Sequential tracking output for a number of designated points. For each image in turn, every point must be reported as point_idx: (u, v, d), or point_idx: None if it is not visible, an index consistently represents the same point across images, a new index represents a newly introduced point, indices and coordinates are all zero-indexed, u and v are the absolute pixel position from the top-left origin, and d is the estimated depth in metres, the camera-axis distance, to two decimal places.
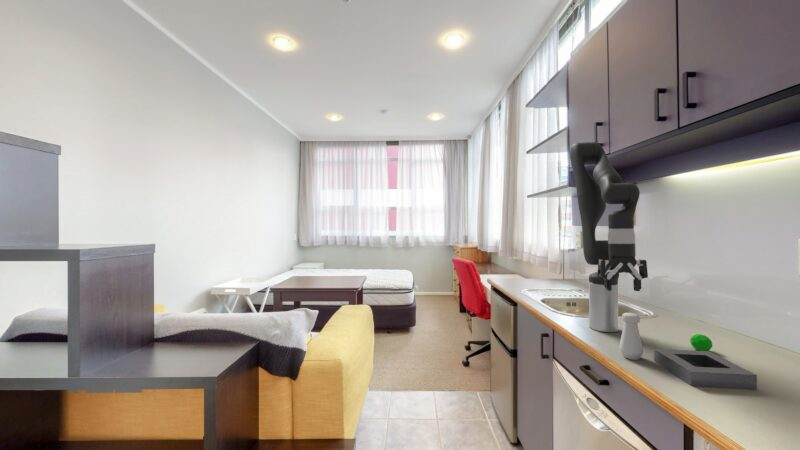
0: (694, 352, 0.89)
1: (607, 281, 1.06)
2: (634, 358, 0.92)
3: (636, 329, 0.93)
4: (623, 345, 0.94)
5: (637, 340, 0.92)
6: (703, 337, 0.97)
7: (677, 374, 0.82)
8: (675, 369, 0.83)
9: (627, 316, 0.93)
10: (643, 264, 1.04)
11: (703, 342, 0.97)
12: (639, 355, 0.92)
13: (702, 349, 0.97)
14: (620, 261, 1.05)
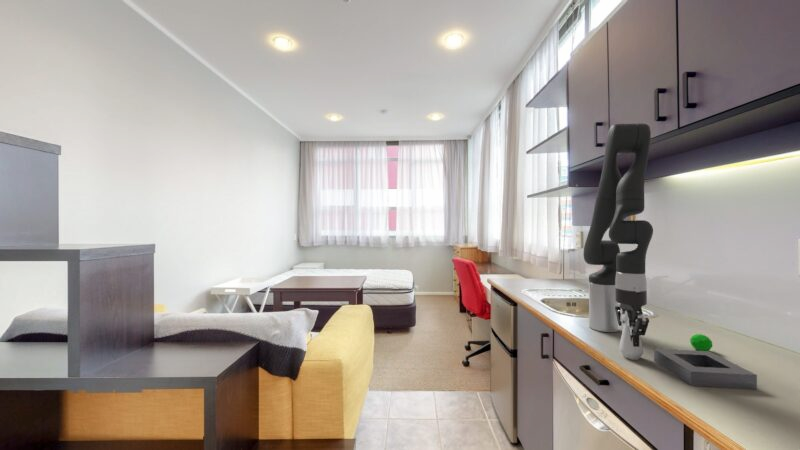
0: (694, 352, 0.89)
1: None
2: (634, 358, 0.92)
3: None
4: (623, 345, 0.94)
5: None
6: (703, 337, 0.97)
7: (677, 374, 0.82)
8: (675, 369, 0.83)
9: None
10: None
11: (703, 342, 0.97)
12: (639, 355, 0.92)
13: (702, 349, 0.97)
14: None
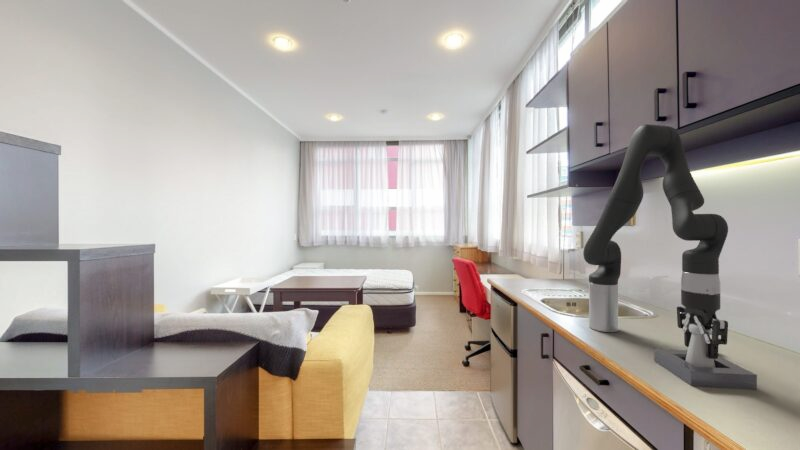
0: None
1: None
2: None
3: None
4: (691, 360, 0.83)
5: None
6: None
7: (677, 374, 0.82)
8: (675, 369, 0.83)
9: (696, 328, 0.83)
10: None
11: None
12: None
13: None
14: None
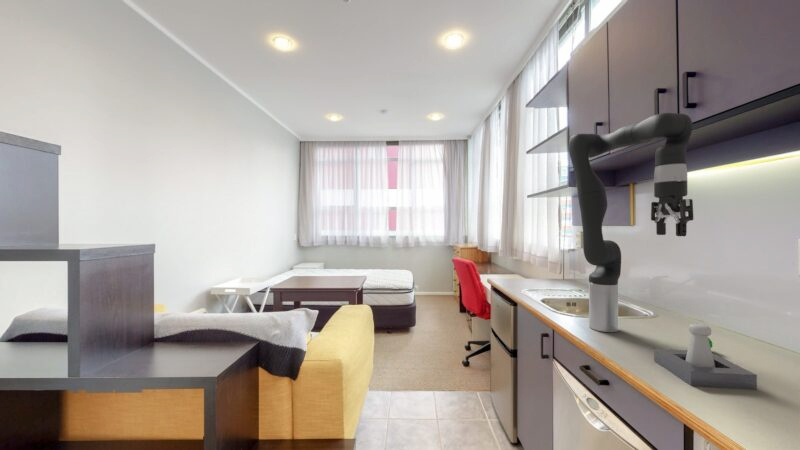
0: None
1: None
2: None
3: (707, 342, 0.82)
4: (691, 360, 0.83)
5: (709, 355, 0.81)
6: None
7: (677, 374, 0.82)
8: (675, 369, 0.83)
9: (696, 328, 0.83)
10: None
11: None
12: None
13: None
14: None
